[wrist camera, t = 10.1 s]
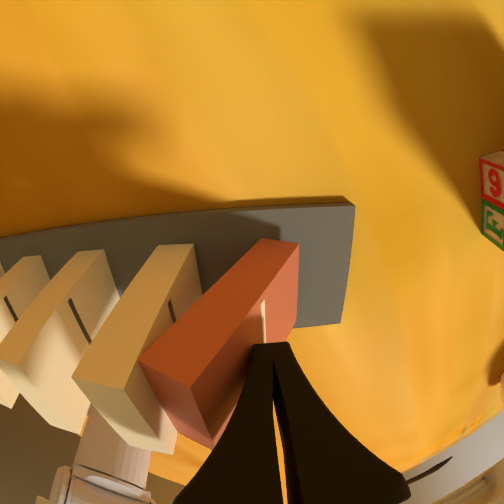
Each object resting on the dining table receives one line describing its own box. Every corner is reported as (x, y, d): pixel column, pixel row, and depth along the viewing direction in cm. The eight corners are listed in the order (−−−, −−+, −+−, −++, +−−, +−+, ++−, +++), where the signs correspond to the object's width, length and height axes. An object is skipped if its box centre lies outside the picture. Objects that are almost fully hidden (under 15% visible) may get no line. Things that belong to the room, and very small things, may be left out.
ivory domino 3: (175, 316, 17) (129, 445, 9) (157, 244, 14) (70, 376, 6) (207, 317, 16) (173, 454, 8) (194, 243, 14) (124, 389, 6)
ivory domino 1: (48, 313, 17) (-6, 400, 9) (23, 256, 14) (-53, 338, 6) (66, 314, 17) (11, 409, 9) (41, 255, 14) (-40, 343, 6)
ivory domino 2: (102, 316, 17) (50, 424, 9) (77, 251, 14) (-9, 355, 6) (127, 317, 17) (80, 434, 9) (104, 249, 14) (18, 364, 6)
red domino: (264, 313, 17) (177, 431, 10) (261, 237, 14) (136, 359, 7) (296, 320, 16) (219, 452, 9) (299, 243, 14) (190, 387, 6)
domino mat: (14, 318, 18) (11, 322, 17) (-19, 241, 14) (-23, 244, 14) (337, 317, 18) (340, 323, 17) (351, 202, 14) (355, 206, 14)
